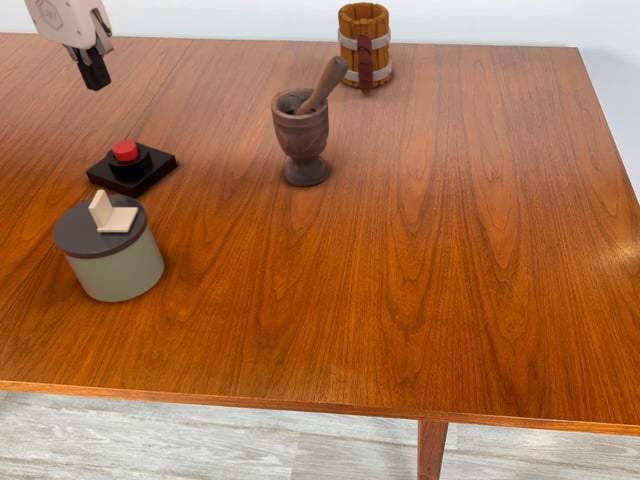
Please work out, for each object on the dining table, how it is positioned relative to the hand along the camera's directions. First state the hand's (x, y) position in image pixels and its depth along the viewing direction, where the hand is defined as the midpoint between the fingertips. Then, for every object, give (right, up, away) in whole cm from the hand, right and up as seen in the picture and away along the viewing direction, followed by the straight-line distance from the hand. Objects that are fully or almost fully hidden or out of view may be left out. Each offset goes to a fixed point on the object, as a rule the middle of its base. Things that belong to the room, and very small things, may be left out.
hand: (100, 85), depth 84 cm
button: (0, -8, +10) cm, 13 cm away
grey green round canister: (+5, -27, -3) cm, 28 cm away
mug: (+38, +12, +33) cm, 51 cm away
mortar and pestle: (+30, -10, +12) cm, 34 cm away
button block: (0, -10, +12) cm, 16 cm away
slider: (+7, -21, -10) cm, 24 cm away
